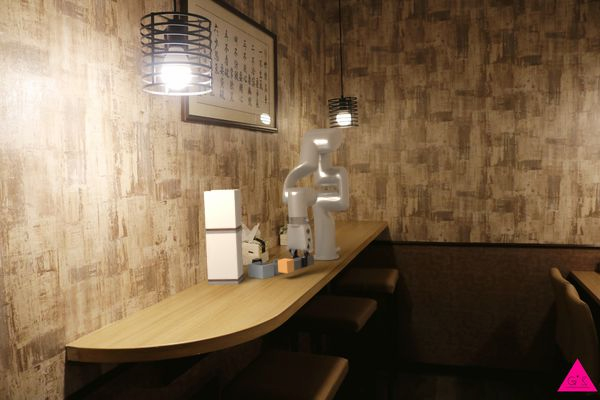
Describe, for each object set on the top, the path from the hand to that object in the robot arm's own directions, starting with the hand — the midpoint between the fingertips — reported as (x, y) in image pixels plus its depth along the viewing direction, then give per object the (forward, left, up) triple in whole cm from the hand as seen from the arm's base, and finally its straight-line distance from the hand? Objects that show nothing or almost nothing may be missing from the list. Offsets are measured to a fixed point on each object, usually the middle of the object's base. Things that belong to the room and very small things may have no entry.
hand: (300, 266), depth 204 cm
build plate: (-1, -25, -4) cm, 26 cm away
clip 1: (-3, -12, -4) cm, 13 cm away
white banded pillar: (+23, -18, -4) cm, 30 cm away
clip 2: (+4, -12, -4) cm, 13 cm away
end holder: (+9, -12, -4) cm, 16 cm away
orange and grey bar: (+2, 0, 0) cm, 2 cm away
